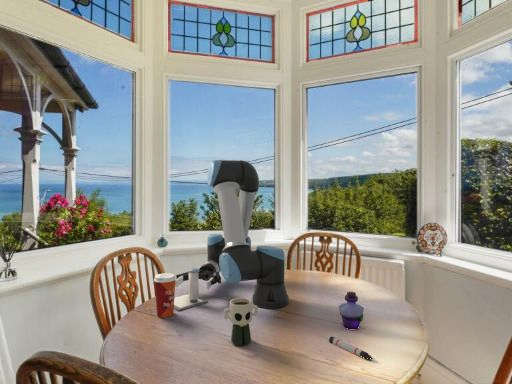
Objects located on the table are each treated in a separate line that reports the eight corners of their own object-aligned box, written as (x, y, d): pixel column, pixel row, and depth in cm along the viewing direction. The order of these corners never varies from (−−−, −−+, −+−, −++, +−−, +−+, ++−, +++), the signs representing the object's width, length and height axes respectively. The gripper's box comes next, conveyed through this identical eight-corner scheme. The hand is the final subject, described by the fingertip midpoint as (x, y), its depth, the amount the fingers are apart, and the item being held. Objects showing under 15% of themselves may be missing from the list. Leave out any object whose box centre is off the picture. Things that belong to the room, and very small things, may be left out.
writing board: (207, 302, 141) (207, 300, 141) (178, 311, 132) (178, 309, 132) (189, 294, 151) (189, 292, 151) (160, 302, 142) (160, 300, 142)
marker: (328, 343, 106) (328, 337, 106) (333, 341, 107) (333, 335, 107) (371, 364, 94) (371, 357, 94) (375, 362, 95) (375, 355, 95)
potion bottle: (365, 333, 112) (366, 297, 112) (339, 331, 114) (339, 296, 113) (362, 322, 121) (362, 289, 120) (337, 320, 122) (337, 288, 122)
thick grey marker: (200, 301, 140) (200, 269, 139) (192, 304, 137) (192, 271, 137) (195, 299, 143) (194, 267, 142) (186, 301, 140) (186, 269, 140)
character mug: (226, 350, 101) (226, 307, 101) (221, 339, 108) (221, 299, 108) (261, 345, 104) (260, 303, 104) (254, 335, 111) (254, 296, 111)
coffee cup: (170, 319, 123) (170, 279, 123) (149, 318, 125) (149, 278, 125) (180, 311, 132) (179, 273, 131) (160, 309, 133) (160, 272, 133)
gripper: (234, 280, 156) (221, 295, 135) (183, 277, 161) (163, 291, 140) (234, 264, 156) (220, 276, 135) (183, 261, 161) (163, 273, 140)
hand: (191, 284), depth 138 cm, fingers open, 13 cm apart
